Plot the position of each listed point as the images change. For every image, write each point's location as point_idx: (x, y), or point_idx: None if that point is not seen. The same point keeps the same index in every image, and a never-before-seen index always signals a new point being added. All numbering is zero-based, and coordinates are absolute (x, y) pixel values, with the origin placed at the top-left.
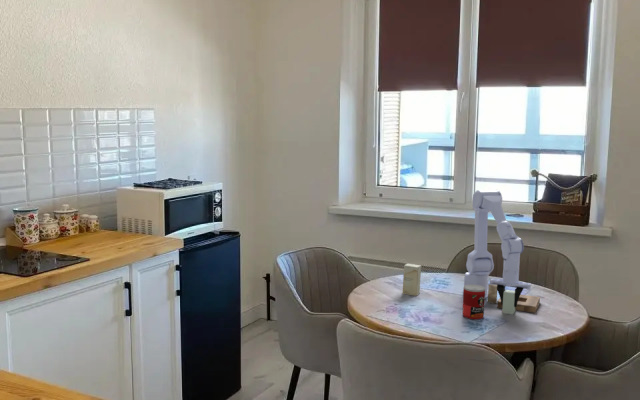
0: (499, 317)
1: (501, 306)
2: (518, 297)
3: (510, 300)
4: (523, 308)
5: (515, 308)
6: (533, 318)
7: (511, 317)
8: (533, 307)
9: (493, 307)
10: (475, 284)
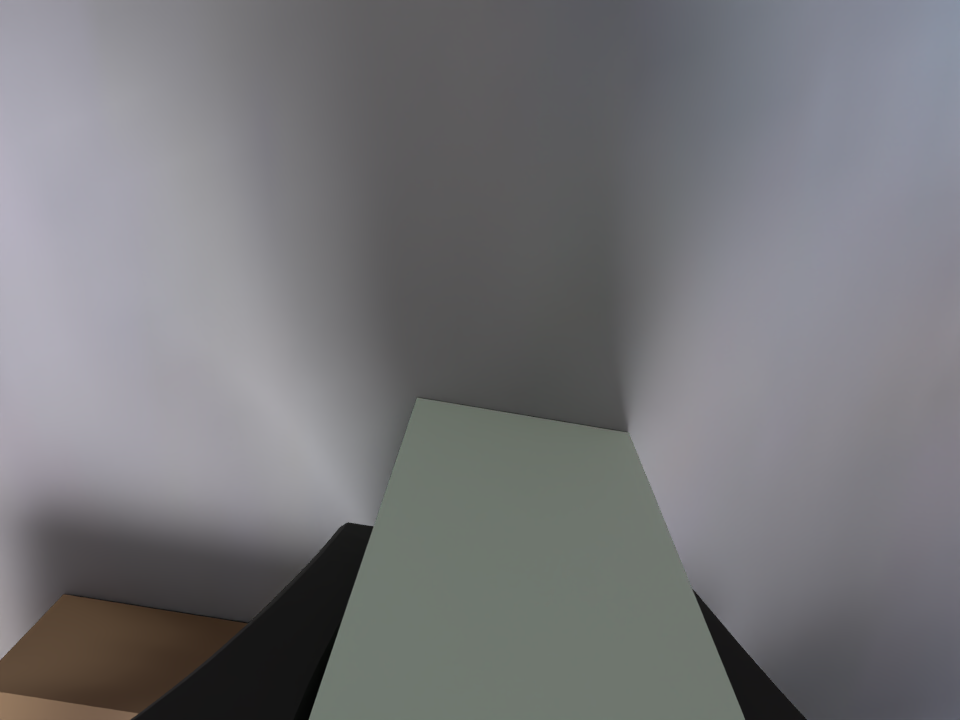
0: (724, 96)
1: None
2: (137, 716)
3: (472, 617)
4: None
5: None
6: (20, 273)
7: (452, 191)
8: (32, 674)
9: None
10: None
